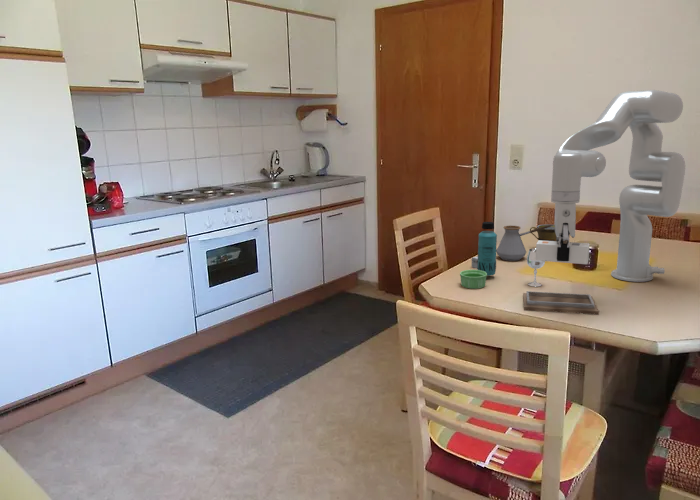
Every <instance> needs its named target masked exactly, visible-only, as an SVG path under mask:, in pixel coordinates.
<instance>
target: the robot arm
mask: <svg viewBox="0 0 700 500" xmlns="http://www.w3.org/2000/svg"><path fill="white" fill-rule="evenodd" d="M683 108H684V103H683V99H682V98H681V96H680V95H678V94H676V93H675V92H674V93H673V92H668V91H664V90H656V89H645V90H631V91H622V92H620V93H618V94H616V95H615V96H614V97H613V98H612V100H611V101H610V102H609V103H608V105H607V106H606V107H605V109H604V110H603V111H602V113H601V114H600V116H599V117H598V118H597V119H596V120H595V122H593V123H591V124H589V125H588V126H586V127H584V128H581V129H580V130H579V131H577V132H575V133H574V134H572V135H571V136H569V137H568V138H567V139H566V140H565V141H563V143H561V144H562V145H560V147H559V148H558V150H557V152H556V153H555V155H554V156H553V161H552V176H551V177H552V178H551V179H552V180H551V195H550V197H551V199H550V202H551V203H555V204H554V225H555V233H556V236H557V238H556V241H559V247H557V261H569V250H570V247H569V242H570V237H571V238H573V239H574V238H576V220H577V213H576V212H577V207H576V206H577V205H576V204H579V203H580V199H581V198H580V197H581V181H582V177H583V178H594V177H597V176H599V175H600V174H602V173H603V171H605V168H606V164H607V159H606V157H605V155H604V154H603V153H602V152H600V151H597V150H592V149H597V148H601V147H604V146H607V145H611V144H613V143H615V142H618V141H619V140H620V139H621V137H622V136H623V135H624V133H625V132H626V130H627V129H628V127H629V129H630V131H631V134H632V142H631V151H630V157H629V158H630V159H629V165H628V175H629V177H630V178H631V179H633V180H636V181H642V182H643V181H644V182H656V183H657V182H659V183H661V186H660V185H659V186H658V185H652V184H651V185H649V184H647V185H646V184H630V185H627V186H625V187H624V188H623V189H622V190H621V191H620V193H619V197H618V200H619V201H618V202H619V210H620V211H619V212H620V226H619V237H618V250H617V251H618V252H617V259H616V263H617V264H616V268H615V269H613V270H612V271H611V272H610V275H611V276H612V277H613V278H614V279H617V280H621V281H626V282H635V283H639V282H640V283H641V282H643V283H644V282H649V281H651V280H653V278H654V274H660V275H664V274H665V267H659V266H651V265H650V255H651V245H652V235H653V226H652V222H651V219H650V218H649V216H655V217H665V218H666V217H667V218H668V217H669V218H670V217H672V216H674V215H676V213H677V212H678V210H679V208H680V204H681V199H682V194H683V193H682V192H683V191H682V190H683V185H684V180H685V175H686V161H685V158H684V156H683V155H682V154H681V153H678V152H675V151H662V145H663V139H664V138H663V137H664V136H663V133H662V130H661V128H660V127H659V125H658V124H663V123H664V124H667V123H673V122H675V121H677V120H678V119H679V118H680V117H681V115H682V113H683V110H684V109H683Z"/></svg>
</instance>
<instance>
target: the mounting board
mask: <svg viewBox="0 0 700 500" xmlns="http://www.w3.org/2000/svg"><path fill="white" fill-rule="evenodd" d="M522 294H523V295H522V299H523V310H524V311H531V312H533V311H534V312H549V313H552V312H553V313H567V314H580V313H583V315H584V314H585V315H595V316H596V315H597V316H599V313H600V311H599V309H598V306H597V304H596V302H595V300H594V298H593V296H592V295H591V294H589V293H588V294H587V293H568V292H567V293H566V292H550V291H549V292H547V291H531V290H529V291H526V292H523V293H522Z"/></svg>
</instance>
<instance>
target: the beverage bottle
mask: <svg viewBox="0 0 700 500" xmlns="http://www.w3.org/2000/svg"><path fill="white" fill-rule="evenodd" d="M481 229H482V231H481V232H480V233H478V244H477V245H478V246H477V247H478V248H477V256H476V257H478V258H477V259H478V260H477V264H478V267H477V268H478V269H477V270H481V271H484V272H486V273H487V276H486V277H489V276H494V275H495V274H496V271H497V257H498V256H497V252H496V250H497V242H498V241H497V238H498V235H497V234H496V233H495V231H493V229H495V223H494V222H493V221H483V222H482V224H481Z"/></svg>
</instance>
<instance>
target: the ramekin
mask: <svg viewBox="0 0 700 500" xmlns="http://www.w3.org/2000/svg"><path fill="white" fill-rule="evenodd" d="M459 276H460V283H461V286H462V287H463V288H465V289H471V290H473V289H474V290H477V289H482V288H485V287H486V284H487V282H486V281H487V277H488V276H487V273H486V272H484V271H481V270H478V269H466V270H461V271H460V272H459Z"/></svg>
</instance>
